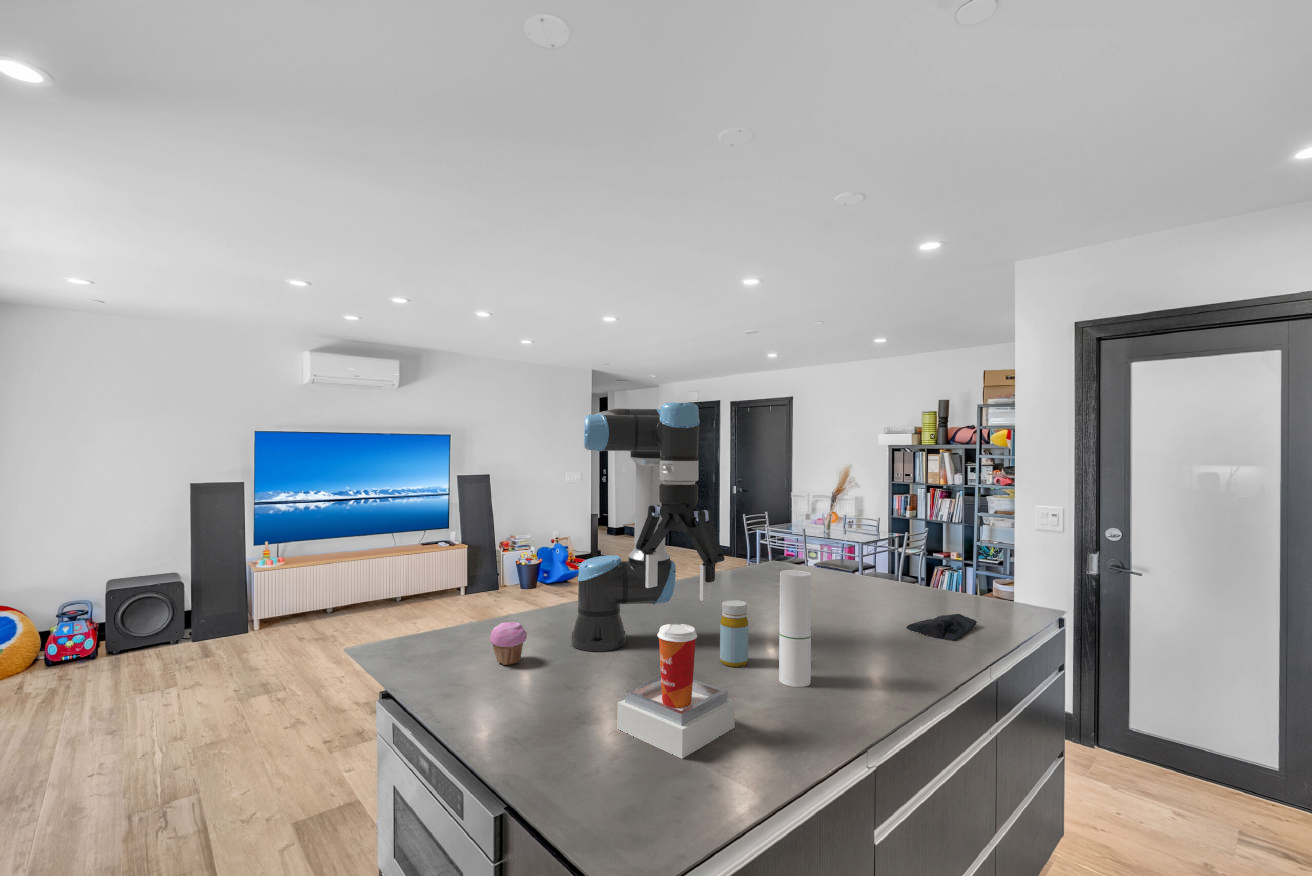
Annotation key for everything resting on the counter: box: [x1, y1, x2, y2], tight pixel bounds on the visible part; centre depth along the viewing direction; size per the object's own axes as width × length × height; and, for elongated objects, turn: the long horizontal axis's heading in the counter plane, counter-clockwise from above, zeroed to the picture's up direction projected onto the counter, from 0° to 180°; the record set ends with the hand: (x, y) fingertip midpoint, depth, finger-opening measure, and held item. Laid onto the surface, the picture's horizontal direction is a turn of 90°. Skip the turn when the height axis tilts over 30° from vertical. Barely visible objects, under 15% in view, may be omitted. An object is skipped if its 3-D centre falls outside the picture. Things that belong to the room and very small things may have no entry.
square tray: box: [616, 676, 736, 760], centre depth 114 cm, size 16×16×7 cm
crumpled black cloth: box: [905, 613, 978, 642], centre depth 180 cm, size 15×22×5 cm
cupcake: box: [489, 621, 528, 666], centre depth 147 cm, size 9×9×10 cm
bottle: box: [719, 599, 749, 668], centre depth 149 cm, size 7×7×15 cm
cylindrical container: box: [778, 569, 812, 688], centre depth 138 cm, size 7×7×25 cm
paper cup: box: [657, 623, 698, 708], centre depth 114 cm, size 8×8×14 cm
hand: (677, 592), depth 114 cm, fingers open, 13 cm apart
